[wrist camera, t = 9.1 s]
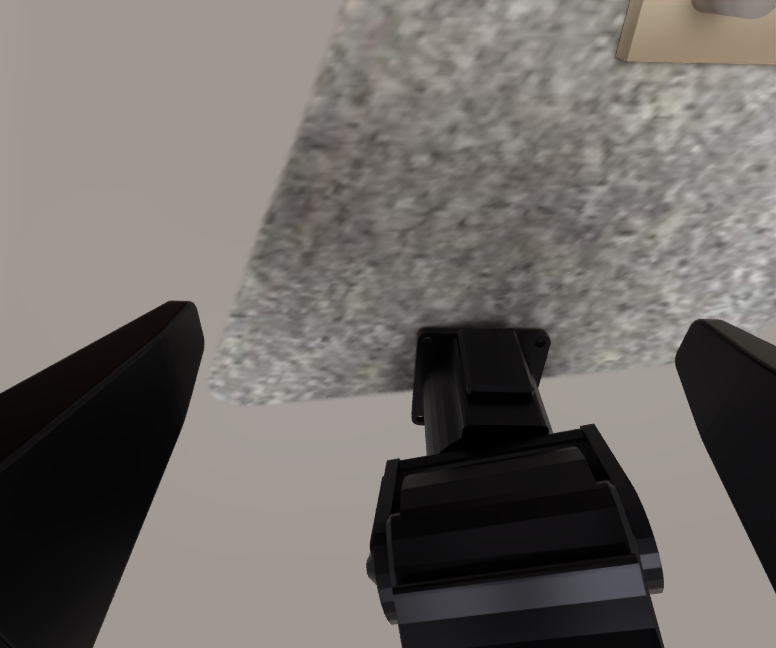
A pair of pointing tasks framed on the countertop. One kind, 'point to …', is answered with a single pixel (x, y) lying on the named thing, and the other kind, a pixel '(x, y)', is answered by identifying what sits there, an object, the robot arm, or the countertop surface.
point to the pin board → (700, 31)
